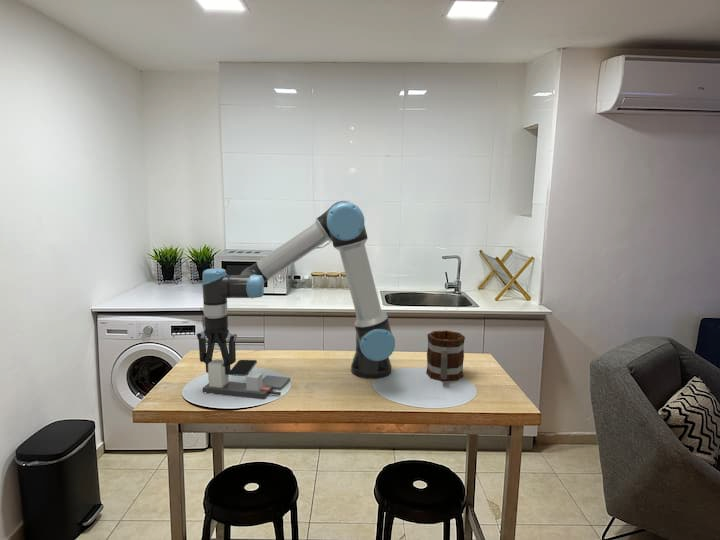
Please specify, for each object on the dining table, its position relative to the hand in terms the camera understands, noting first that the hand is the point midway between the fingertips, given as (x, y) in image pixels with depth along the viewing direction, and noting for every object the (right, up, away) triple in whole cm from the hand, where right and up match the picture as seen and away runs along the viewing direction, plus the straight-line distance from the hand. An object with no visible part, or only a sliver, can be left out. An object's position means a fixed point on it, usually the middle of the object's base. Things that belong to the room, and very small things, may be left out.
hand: (218, 382), depth 168 cm
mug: (+78, -1, +12) cm, 79 cm away
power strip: (+9, -3, -1) cm, 9 cm away
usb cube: (+13, -1, -3) cm, 13 cm away
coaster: (+18, -2, +6) cm, 19 cm away
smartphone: (+3, 0, +20) cm, 21 cm away
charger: (0, -1, 0) cm, 1 cm away
